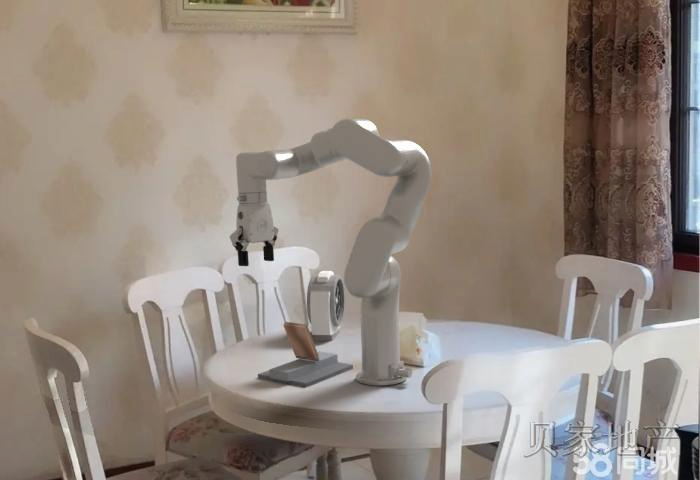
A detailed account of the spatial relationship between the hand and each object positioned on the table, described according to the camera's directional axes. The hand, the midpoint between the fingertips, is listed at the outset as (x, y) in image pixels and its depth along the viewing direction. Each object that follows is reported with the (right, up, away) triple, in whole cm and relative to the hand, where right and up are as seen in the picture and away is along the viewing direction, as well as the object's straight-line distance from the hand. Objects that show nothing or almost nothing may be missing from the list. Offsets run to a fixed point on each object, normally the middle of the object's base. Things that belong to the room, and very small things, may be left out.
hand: (256, 263), depth 223 cm
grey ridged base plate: (+13, -28, -6) cm, 32 cm away
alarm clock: (+18, -24, +35) cm, 46 cm away
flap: (+12, -20, -8) cm, 25 cm away
